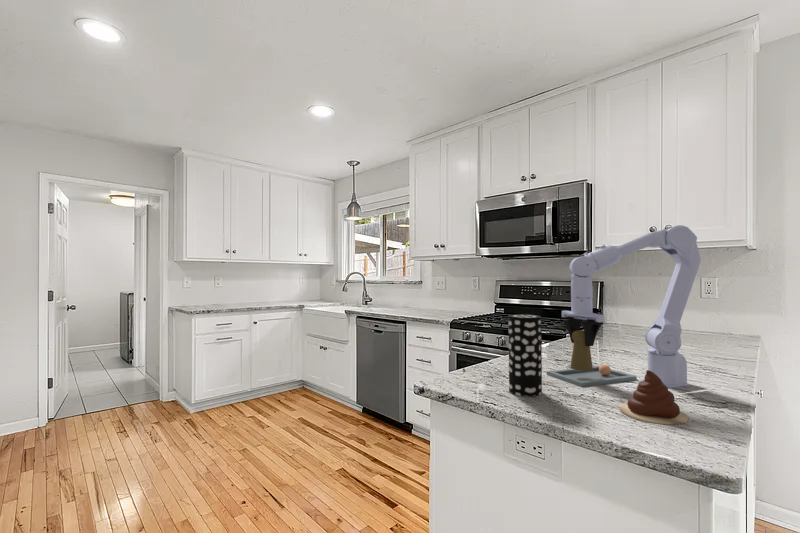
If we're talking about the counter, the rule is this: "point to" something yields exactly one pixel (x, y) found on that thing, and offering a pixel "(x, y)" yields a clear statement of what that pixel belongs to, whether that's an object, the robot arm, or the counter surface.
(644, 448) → the counter surface
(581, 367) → the pepper shaker
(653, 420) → the cork coaster
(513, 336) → the spotted tube
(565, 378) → the tray
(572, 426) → the counter surface
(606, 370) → the ball
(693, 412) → the counter surface
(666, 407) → the poop emoji
